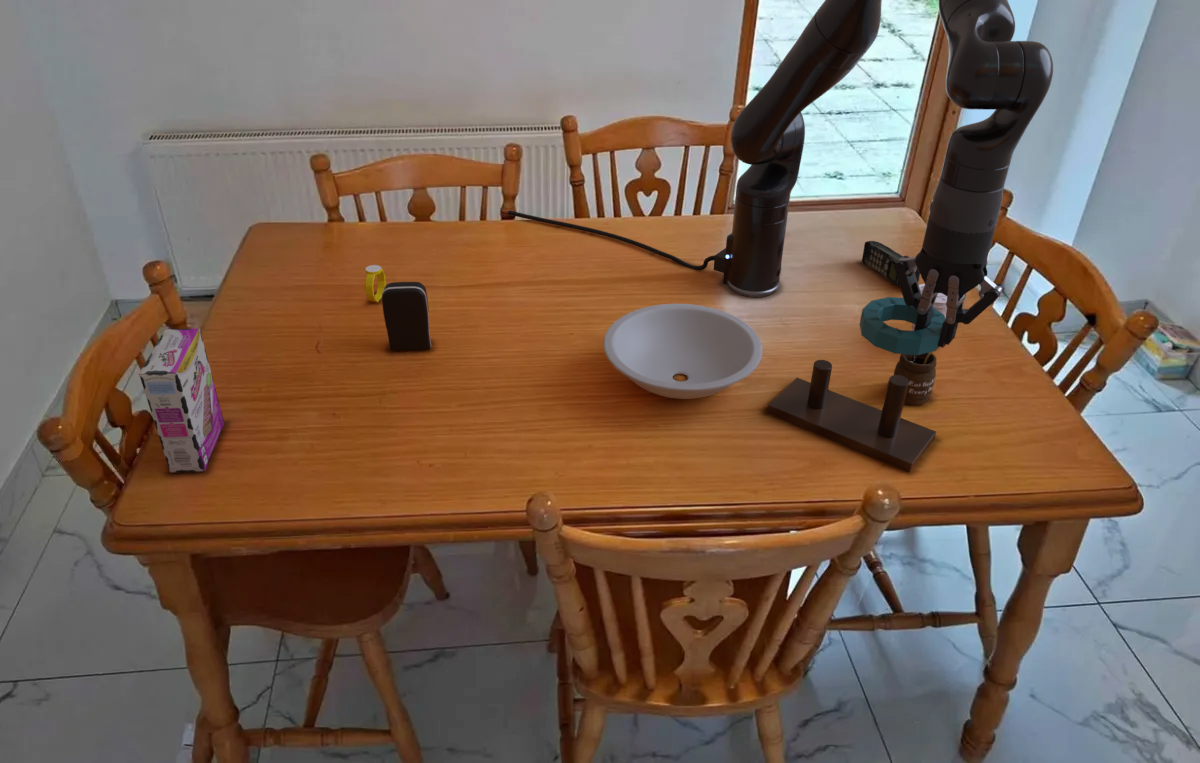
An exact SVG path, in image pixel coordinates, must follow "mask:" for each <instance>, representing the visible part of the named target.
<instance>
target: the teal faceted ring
mask: <svg viewBox="0 0 1200 763" xmlns="http://www.w3.org/2000/svg"><path fill="white" fill-rule="evenodd" d="M932 310H934V313H933V317H932V321H931V323H930V325H929V326H928V327H927V328H925V329H921V330H917V331H912V330H905V329H899V328H897V327H895V326H891V325H888V324H887V323H885V322H887V321H892V320H893V321H904V322H907V323H910V324H912V325H913V324H916V320H917V315H918V311H917V309H916V308H914V307H913V306H907V305H906V304H905V301H904V298H903V297H898V296H887V297H882V298H877V299H872V300H871V301H869V302H868V303H867V304H866V305H865V306H864V307H863V308H862V310H861V314H860V320H859V329H860V334H861V336H862V338H864V339H865V340H866V341H867V342H868V343H870V344H871V345H872V346H873V347H876V348H879V349H881V350H884V351H887V352H890V353H892V354H896V355H897V354H898V355H901V354H909V355H921V354H925V353H929V352H932V353H933V352H936V351H937V350H938V349H939V348H940V347H939V346H938V343H939V339H940V335H941V334H940V333H941V329H942V325H943V322H944V321H945V316H944V314H942V313H941V312H939V311H938V310H937V309H935V308H934V307H932Z"/></svg>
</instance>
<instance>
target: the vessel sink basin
mask: <svg viewBox="0 0 1200 763" xmlns="http://www.w3.org/2000/svg"><path fill="white" fill-rule="evenodd" d="M603 350H604V353H605V356H606V358H607V360H608V362H609V363H610V364H611V365H612V366H613V367H614V369H616V370H617V371H618V372H619V373H621V375H623V376H626V377H627V378H628V379H629V380H630V381H632V382H633V383H634V384H636V385H637V386H638V387H640V388H642V389H644V390H645V391H647V392H649V393H652V394H655V395H657V396H661V397H665V398H670V399H676V400H678V399H679V400H694V399H702V398H706V397H709V396H713V395H716V394H719V393H720V392H722V391H724V390H726V389H728V388H729V387H731V386H733V385H734V384H736V383H738V382H741V381H742V380H744V379H746V378H747V377H748V376H750V375H751V374H752V373H754V371H755V370H756V369H757V368H758V366H759V364H760V362H761V360H762V357H763V344H762V341H761V339H760V337H759V335H758V334H757V332H756V331H755V329H753V328H752V327H751V325H749V324H748V323H746V322H745V321H743V319H740V318H739V317H737V316H735V315H733V314H731V313H729V312H726V311H723V310H720V309H717V308H715V307H710V306H706V305H699V304H694V303H693V304H692V303H662V304H655V305H649V306H644V307H641V308H637V309H635V310H632V311H630V312H627V313H625V314H624V315H622V316H621V317H619V318H618V319H616V320H615V321H613V323H612V324H611V325H610V326H609V328H608V329H607V330H606V332H605V335H604V337H603ZM676 375H685V376H686V377H687V379H686V380H683V381H681V380H680V381H678V380H676V379H674V376H676Z"/></svg>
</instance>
